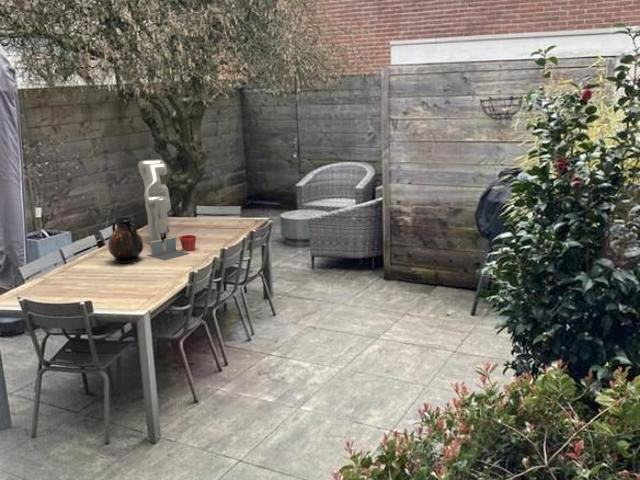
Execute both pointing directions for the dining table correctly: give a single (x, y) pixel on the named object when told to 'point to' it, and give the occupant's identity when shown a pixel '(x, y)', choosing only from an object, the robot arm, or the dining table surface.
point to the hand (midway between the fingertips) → (163, 242)
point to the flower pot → (188, 242)
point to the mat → (169, 255)
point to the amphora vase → (125, 241)
